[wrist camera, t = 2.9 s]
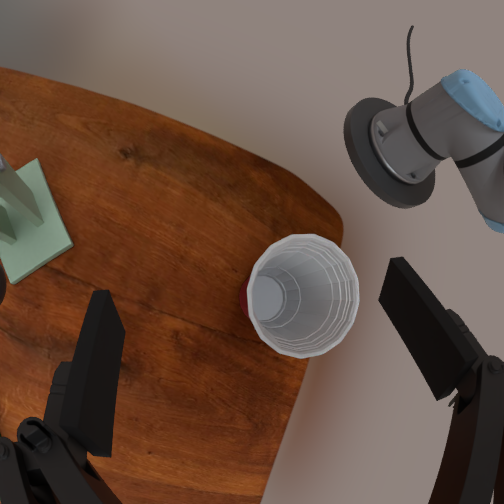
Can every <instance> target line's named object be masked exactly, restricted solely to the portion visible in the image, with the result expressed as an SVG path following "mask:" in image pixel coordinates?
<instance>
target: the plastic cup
mask: <svg viewBox="0 0 504 504" xmlns="http://www.w3.org/2000/svg"><path fill="white" fill-rule="evenodd" d="M239 300H240V306H241V308H242V310H243V312H244V314H245V315H246V316H247V317H248V318H249V319H250V320H251V321H252V323H253V325H254V327H255V329H256V331H257V333H258V335H259V337H260V338H261V339H262V340H263V341H264V342H265V343H267V344H268V345H269V346H270V347H272V348H273V349H274V350H275V351H277V352H278V353H280V354H284V355H288V356H292V357H296V358H300V359H302V358H307V357H312V356H317V355H322V354H324V353H325V352H327V351H328V350H330V349H331V348H333V347H334V346H336V345H337V344H339V343H340V342H341V341H342V340H343V338H344V337H345V335H346V334H347V333H348V331H349V330H350V328H351V327H352V325H353V324H354V321H355V317H356V313H357V310H358V306H359V302H360V299H359V284H358V277H357V275H356V273H355V270H354V268H353V266H352V264H351V261H350V259H349V257H348V256H347V255H346V254H345V253H344V252H343V251H342V250H341V249H340V248H339V247H338V246H337V245H336V244H335V243H334V242H332V241H329V240H327V239H325V238H322V237H320V236H317V235H315V234H295V235H290V236H288V237H286V238H284V239H282V240H280V241H278V242H276V243H274V244H272V245H270V246H269V248H268V249H267V250H266V251H265V252H264V254H263V255H262V256H261V257H260V258H259V260H258V261H257V262H256V263H255V265H254V268H253V271H252V274H251V275H250V276H249V277H248V278H247V280H246V281H245V282H244V283H243V285H242V287H241V290H240V294H239Z"/></svg>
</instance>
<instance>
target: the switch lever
mask: <svg viewBox="0 0 504 504" xmlns="http://www.w3.org/2000/svg"><path fill="white" fill-rule="evenodd" d="M5 293H6V277H5V273H4V270H3V268H2V266H1V265H0V305H1V303H2V301H3V299H4V296H5Z"/></svg>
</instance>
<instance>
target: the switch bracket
mask: <svg viewBox="0 0 504 504" xmlns="http://www.w3.org/2000/svg"><path fill="white" fill-rule="evenodd" d="M73 246H74V244H73V241H72V239H71V237H70V235H69V233H68V231H67V229H66V226H65V224H64V222H63V220H62V217H61V215H60V213H59V210H58V208H57V206H56V203H55V201H54V198H53V196H52V194H51V191H50V188H49V186H48V183H47V181H46V178H45V175H44V173H43V170H42V167H41V164H40V162H39V160H38V159H37V158H36V159H35V160H33V161H31V162H30V163H28V164H26V165H25V166H23V167H22V168H20V169H19V170H17V171H14V170H13V168H12V167H11V166H10V165H9V164H8V162H7V161H6V160H5V159H4V157H3V156H2V155H1V154H0V258H1V261H2V263H3V266H4V268H5V271H6V273H7V276H8V278H9V281H10V283H11V284H16V283H18V282H19V281H21V280H22V279H24V278H25V277H26V276H28V275H29V274H31V273H32V272H34V271H35V270H37V269H38V268H40V267H41V266H43V265H44V264H46V263H47V262H49V261H51V260H52V259H54V258H55V257H57V256H58V255H60V254H61V253H63V252H65V251H66V250H68V249H69V248H71V247H73Z"/></svg>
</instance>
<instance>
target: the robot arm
mask: <svg viewBox="0 0 504 504" xmlns="http://www.w3.org/2000/svg"><path fill="white" fill-rule="evenodd" d="M413 27H414V26H411V28H410V30H409V33H408V36H407V56H408V65H409V74H410V87H409V90H408V92H407V94H406V96H405V100H404V105H402V106H398V107H394V108H390V109H386V110H383V111H380V112H379V113H377V114H376V115H375V116H373V117H372V118H371V120H370V122H369V125H368V137H369V142H370V145H371V148H372V150H373V153H374V155H375V157H376V158H377V160H378V162H379V163H380V165H381V166H382V167H383V169H384V170H385V171H386V172H387V173H388V174H389V175H390V176H391V177H392V178H393V179H395V180H396V181H398V182H400V183H402V184H404V185H415V184H417V183H419V182H421V181H423V180H424V179H425V178H426V177H427V176H428V175H429V174H430V173H431V172H432V171H433V170H434V169H435V168H436V166H437V165H438V164H439V163H440V162H441V161H442V160H444V159H446V158H448V157H452V159H453V160H454V162H455V164H456V166H457V167H458V169H459V171H460V173H461V175H462V177H463V179H464V181H465V183H466V185H467V187H468V189H469V191H470V193H471V195H472V197H473V199H474V201H475V203H476V205H477V208H478V211H479V212H480V214H481V215H482V216H483V218H484V220H485V222H486V224H487V225H488V226H489V227H490V228H491V229H492V230H494V231H496V232H499V233H504V107H503V105H502V103H501V101H500V100H499V98H498V97H497V96H496V94H495V93H494V92H493V90H492V89H491V88H490V87H489V86H488V85H487V84H486V83H485V82H484V81H483V80H482V79H481V78H480V77H479V76H477V75H476V74H474V73H473V72H471V71H469V70H465V69H460V70H457V71H455V72H454V73H452V74H450V75H449V76H445V77H443V78H442V79H441V81H440V82H439V83H437V84H436V85H435V86H433V87H431V88H430V89H429V90H427V91H425V92H424V93H422V94H421V95H420V96H418V97H417V98H415V99H414V100H413V101H411V102H410V103H408V100H409V97H410V95H411V92H412V90H413V85H414V81H413V73H412V65H411V56H410V36H411V33H412V30H413ZM378 301H379V302H380V304H381V305H382V307H383V309H384V310H385V312H386V313H387V315H388V317H389V318H390V320H391V321H392V323H393V325H394V326H395V328H396V330H397V331H398V333H399V335H400V336H401V338H402V340H403V341H404V343H405V345H406V347H407V348H408V350H409V352H410V353H411V355H412V357H413V359H414V360H415V362H416V364H417V366H418V367H419V369H420V371H421V373H422V374H423V376H424V378H425V380H426V382H427V384H428V385H429V387H430V389H431V391H432V393H433V395H434V397H435V398H436V400H437V401H438V400H440V399H442V398H445V397H447V396H449V395H450V394H451V393H452V392H453V390H454V389H455V388H456V389H457V390H458V393H457V394H456V396H455V397H454V398H453V399H452V400H451V401H450V403H449V405H448V406H449V407H450V406H451V405H452V404H453V403H454V402H455V404H454V406H453V408H454V410H453V415H452V420H451V425H450V430H449V434H448V439H447V443H446V447H445V451H444V455H443V458H442V462H441V466H440V469H439V472H438V476H437V479H436V482H435V485H434V488H433V491H432V494H431V498H430V500H429V503H428V504H490V502H491V498H492V494H493V490H494V500H493V504H504V362H503V361H501V360H500V359H499V358H498V357H496V356H491V355H490V356H488V355H487V354H486V352H485V351H484V349H483V348H482V347H481V345H480V344H479V342H478V341H477V339H476V338H475V337H474V335H473V334H472V333H471V332H470V331H469V329H468V327H467V326H466V325H465V323H464V322H463V320H462V319H461V318H460V316H459V315H458V314H456V313H455V312H454V311H452V310H451V309H447V310H445V308H444V307H443V306H442V305H441V303H440V302H439V301H438V299H437V298H436V297H435V295H434V294H433V293H432V291H431V290H430V289H429V288H428V286H427V285H426V284H425V283H424V282H423V280H422V279H421V278H420V277H419V275H418V274H417V273H416V272H415V271H414V269H413V268H412V267H411V266H410V265H409V263H408V262H407V261H406V260H405V259H404V257H396V258H390V262H389V266H388V269H387V273H386V276H385V280H384V283H383V286H382V290H381V293H380V296H379V300H378ZM124 338H125V329H124V327H123V325H122V322H121V320H120V317H119V315H118V312H117V310H116V307H115V305H114V302H113V300H112V297H111V295H110V292H109V290H98V291H93V294H92V297H91V300H90V303H89V306H88V309H87V312H86V315H85V318H84V322H83V325H82V328H81V332H80V335H79V338H78V342H77V346H76V349H75V353H74V357H73V361H72V362H61V363H60V365H59V366H58V368H57V369H56V371H55V373H54V377H53V380H52V385H51V388H50V394H49V396H48V401H47V405H46V410H45V414H44V419H43V421H42V420H41V419H39V418H37V417H29V418H26V419H24V420H23V421H22V422H21V423H20V425H19V427H18V430H17V439H18V442H12V441H11V440H10V439H8V438H6V437H0V500H1V504H122V503H121V501H120V500H119V499H118V498H117V497H116V495H115V494H114V493H113V492H112V491H111V489H110V488H109V487H108V486H107V484H106V483H105V482H104V480H103V479H102V478H101V476H100V475H99V474H98V472H97V471H96V470H95V468H94V467H93V466H92V464H91V463H90V461H89V460H88V459H87V451H88V452H89V453H91V454H92V455H93V456H100V457H111V453H112V438H113V425H114V414H115V404H116V395H117V387H118V379H119V371H120V364H121V357H122V351H123V344H124Z"/></svg>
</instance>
